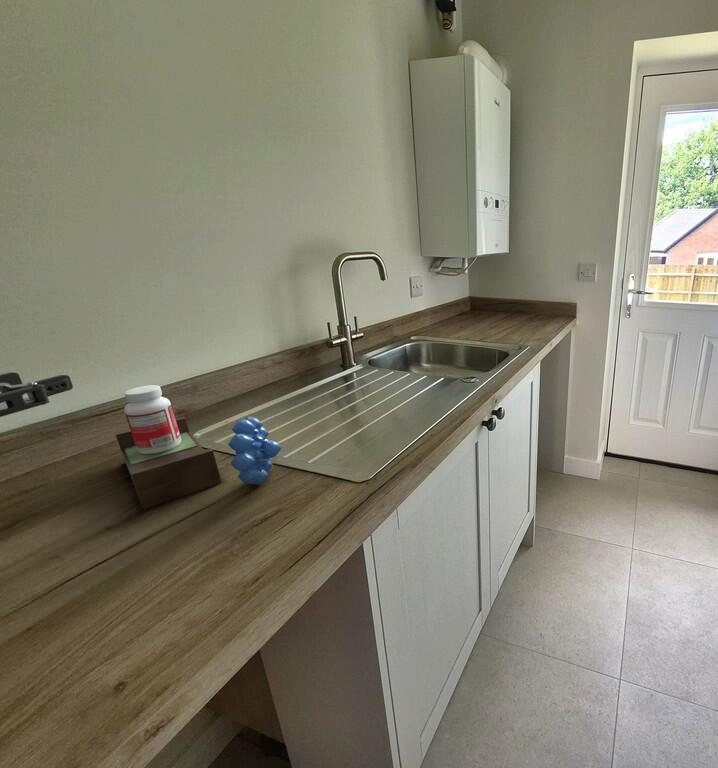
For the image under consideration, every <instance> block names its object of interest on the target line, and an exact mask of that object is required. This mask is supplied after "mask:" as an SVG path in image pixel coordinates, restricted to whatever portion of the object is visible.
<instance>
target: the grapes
mask: <svg viewBox="0 0 718 768" xmlns="http://www.w3.org/2000/svg"><path fill="white" fill-rule="evenodd" d="M263 425H264V424H263V423H262V422H261V421H260V420H259V419H257V418H256V417H254V416H247V417H245V418H242V419H240V420H238V421H236V423H235V424H234V425H233V427H232V429H231V431H232V432H233V433H234V435H233V436H232V437H231V439H230V440H229V442H228V443H227V445H228V446H229V447H230V449H232V450H233V451H234V452H235V455H234V456H233V458H232V460H231V462H230V465H231V466H232V467H233V468H234V469H235V470H237V471H238V472H239V473H238V475H237V478H238V479H239V480H240V481H241V482H242V483H244V484H246V485H257V486H258V485H261V484H263V483H264V482H265V481H266V479H267V478H268V476H269V475H270V474H269V473H268V472H269V471H270V470H271V468H272V467H273V463H272V462H271V461H270V459H272V458H275V457H277V456H278V455H279V453H280V452H281V450H282V448H283V447H282V446H281V445H280V444H279V443H278V442H277V441H275V440H271V439H267V438H268V436H269V435H270V432H269V431H268V430H267V429H266V428H265V427H263Z"/></svg>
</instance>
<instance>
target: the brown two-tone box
mask: <svg viewBox="0 0 718 768" xmlns="http://www.w3.org/2000/svg"><path fill="white" fill-rule="evenodd" d="M175 420H176V423H177V426H178V430H179V433H180V436H181V443H180V444H179V445H178V446H176V447H174V448H172V449H170V450H167V451H164V452H161V453H156V454H142V453H139V452H138V450H137V447H136V445H135V442H134V439H133V436H132V433H131V430H130V429H127V430H122V431H118V432H115V433H114V435H115V438H116V441H117V443H118V447H119V449H120V452H121V455H122V457H123V460H124V463H125V466H126V469H127V471H128V474H129V476H130V479H131V482H132V484H133V487H134V489H135V492H136V494H137V497H138V499H139V502H140V504H141V507H142V509H143V510H147V509H149V508H152V507H155V506H158V505H161V504H163V503H166V502H169V501H172V500H176V499H178V498H181V497H184V496H187V495H190V494H192V493H195V492H198V491H201V490H203V489H206V488H209V487H213V486H216V485H218V484H221V483H222V479H221V474H220V472H219V471H220V470H219V467H218V464H217V460H216V457H215V453H214V450H213V448H211V447H210V448H207V449H204V448H203V447H202V445H201V444H200V443H199V442H198V441H197V439H196V438H195V437H194V436H193V434H192V433H191V432H190V428H189V425H188V422H187V418H186V417H185V416H181V417H177V418H176V417H175Z"/></svg>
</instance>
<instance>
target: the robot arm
mask: <svg viewBox="0 0 718 768" xmlns="http://www.w3.org/2000/svg"><path fill="white" fill-rule="evenodd" d="M73 388H74V385H73V382H72V380H71V377H70V376H69V375H67V374H59V375H55V376H51V377H47V378H44V379H40V380H36V381H28V382H26V383H25V382H24V383H23V381H22V379H21V376H20V374H19V373H17V372H12V371H11V372H10V371H9V372H5V373H1V374H0V418H2V417H5V416H8V415H12V414H16V413H19V412H22V411H26V410H29V409H32V408H36V407H40V406H45V405H46V404H49V403H50V399H49V397H52V396H55V395H58V394H62V393H65V392H68V391H71V390H72V389H73ZM25 394H27V397H25V398H24V397H23V396H24V395H25Z"/></svg>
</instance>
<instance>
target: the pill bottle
mask: <svg viewBox="0 0 718 768" xmlns="http://www.w3.org/2000/svg"><path fill="white" fill-rule="evenodd" d="M162 395H163V391H162V388H161V386H160V385H157V384H150V385H142V386H136V387H133V388H130V389H128V390H125V392H124V396H125V400H126V402H129V403H127V404H126V405H125V406H124V408H123V412H124V415H125V418H126V421H127V424H128V427H129V430H131V433H132V436H133V439H134V442H135V445H136V447H137V450H138V452H139V453H142V454H156V453H161V452H164V451H167V450H170V449H172V448H174V447H176V446H178V445H179V444H180V443H181V436H180V433H179V430H178V426H177V423H176V420H175V419H176V417H175V413H174V410H173V406H172V403H171V401H170V399H168V398H166V397H164V396H162Z"/></svg>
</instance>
